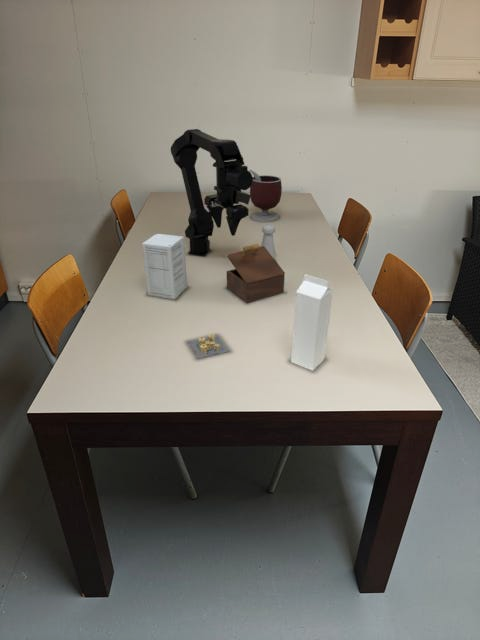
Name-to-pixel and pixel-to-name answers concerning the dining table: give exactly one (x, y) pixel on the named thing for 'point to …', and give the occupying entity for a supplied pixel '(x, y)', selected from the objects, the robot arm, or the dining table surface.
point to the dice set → (207, 346)
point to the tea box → (254, 287)
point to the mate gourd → (265, 196)
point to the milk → (311, 322)
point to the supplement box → (165, 265)
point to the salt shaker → (269, 239)
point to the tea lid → (255, 264)
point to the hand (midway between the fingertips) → (225, 231)
